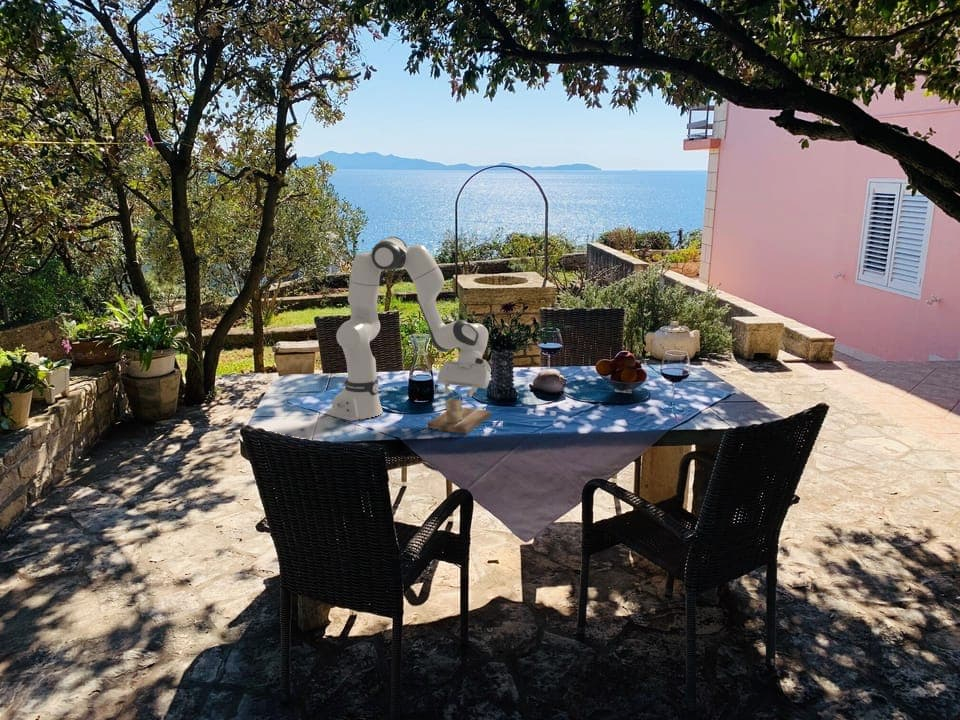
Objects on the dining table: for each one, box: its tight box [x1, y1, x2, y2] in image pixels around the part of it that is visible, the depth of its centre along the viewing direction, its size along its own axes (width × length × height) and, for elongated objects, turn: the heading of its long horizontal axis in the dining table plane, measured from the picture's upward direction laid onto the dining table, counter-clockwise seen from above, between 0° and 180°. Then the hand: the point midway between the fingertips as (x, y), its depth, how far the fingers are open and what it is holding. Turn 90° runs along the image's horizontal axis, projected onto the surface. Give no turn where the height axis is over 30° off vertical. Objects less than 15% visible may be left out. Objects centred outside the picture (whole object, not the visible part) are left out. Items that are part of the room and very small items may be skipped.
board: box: [427, 407, 492, 435], centre depth 259 cm, size 16×21×2 cm
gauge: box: [445, 398, 463, 423], centre depth 254 cm, size 6×4×8 cm, turn 65°
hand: (457, 394), depth 256 cm, fingers open, 8 cm apart
